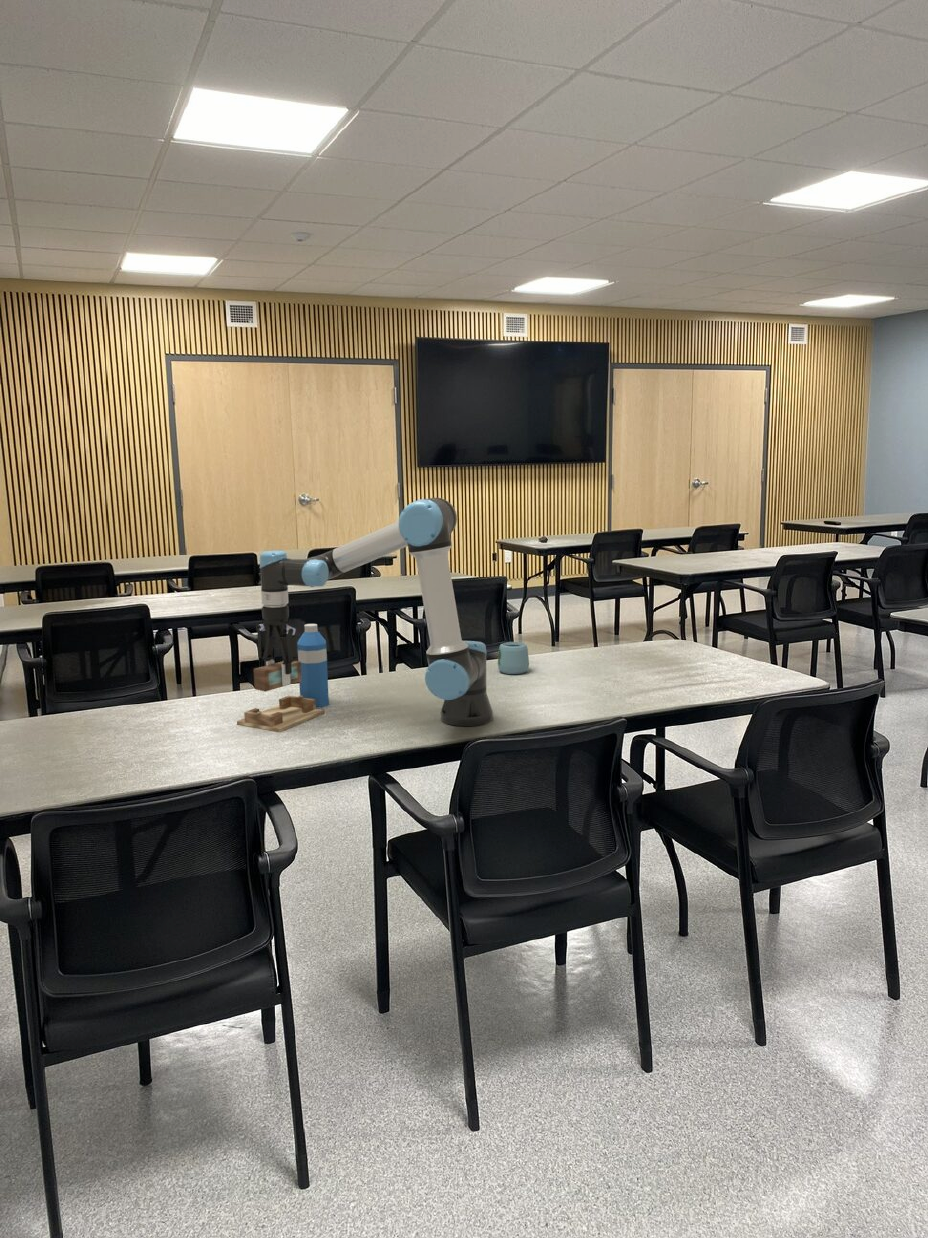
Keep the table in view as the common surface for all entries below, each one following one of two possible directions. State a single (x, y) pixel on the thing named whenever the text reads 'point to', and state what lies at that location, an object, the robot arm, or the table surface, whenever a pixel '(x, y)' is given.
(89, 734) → the table surface
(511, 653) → the mug
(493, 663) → the table surface
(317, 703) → the water bottle
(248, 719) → the cleat board
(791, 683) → the table surface
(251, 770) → the table surface
